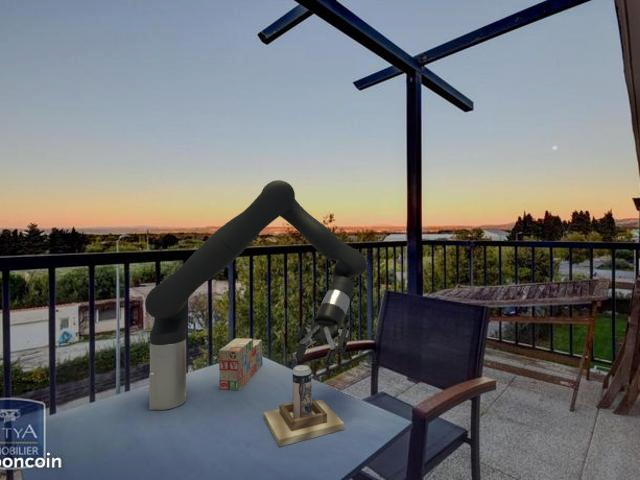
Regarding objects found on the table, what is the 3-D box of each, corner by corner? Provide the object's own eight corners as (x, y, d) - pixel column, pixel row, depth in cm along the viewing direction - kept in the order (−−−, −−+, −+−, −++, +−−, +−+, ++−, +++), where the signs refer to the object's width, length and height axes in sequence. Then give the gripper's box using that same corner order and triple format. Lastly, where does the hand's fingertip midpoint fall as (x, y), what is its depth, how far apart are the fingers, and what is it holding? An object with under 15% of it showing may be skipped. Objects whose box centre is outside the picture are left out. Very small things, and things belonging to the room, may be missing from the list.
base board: (279, 446, 72) (279, 430, 72) (263, 418, 84) (263, 404, 84) (344, 429, 79) (344, 414, 79) (321, 405, 91) (321, 392, 91)
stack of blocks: (246, 364, 122) (246, 330, 122) (262, 365, 121) (262, 331, 121) (219, 390, 101) (218, 349, 101) (238, 391, 100) (238, 350, 100)
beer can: (305, 424, 79) (304, 372, 79) (288, 418, 81) (288, 369, 81) (316, 414, 83) (315, 366, 83) (300, 410, 85) (299, 363, 85)
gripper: (307, 299, 97) (283, 350, 87) (351, 304, 89) (331, 360, 79) (316, 314, 101) (295, 364, 91) (360, 319, 94) (341, 374, 84)
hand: (312, 362), depth 85 cm, fingers open, 8 cm apart
